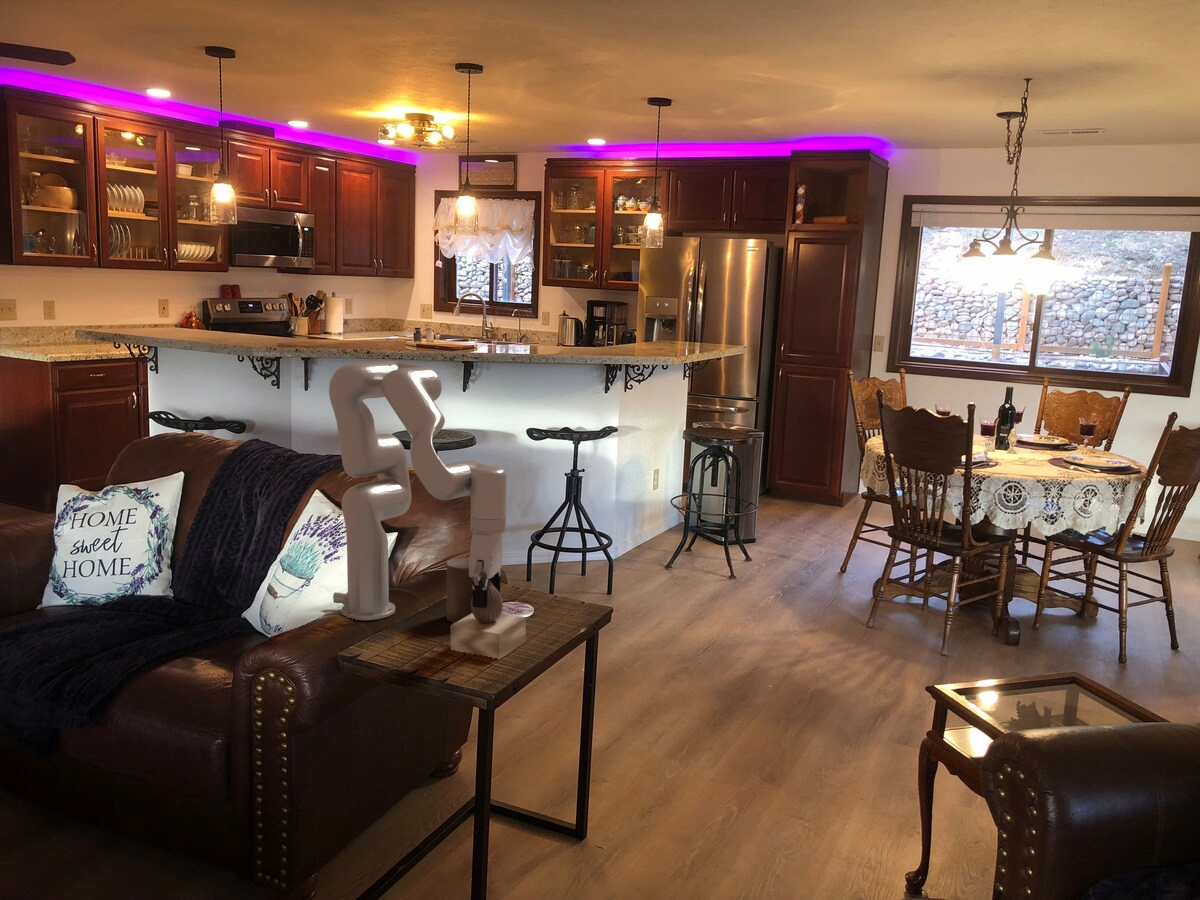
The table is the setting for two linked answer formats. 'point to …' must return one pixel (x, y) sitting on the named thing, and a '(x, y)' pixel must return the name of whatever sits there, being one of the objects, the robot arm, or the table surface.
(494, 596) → the vase
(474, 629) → the maple block
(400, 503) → the robot arm
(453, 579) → the pillar candle
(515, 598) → the table surface
